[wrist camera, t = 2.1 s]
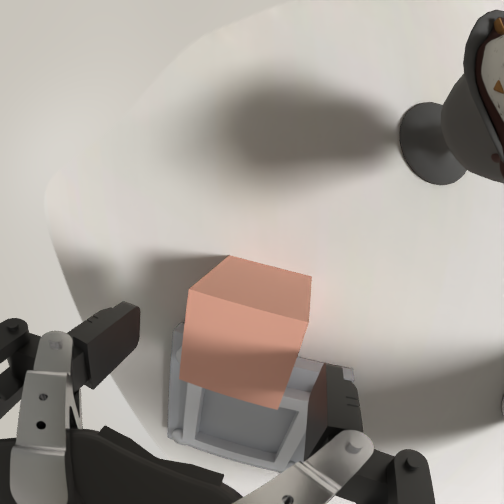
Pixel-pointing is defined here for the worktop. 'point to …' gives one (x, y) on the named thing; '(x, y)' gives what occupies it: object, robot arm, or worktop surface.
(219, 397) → the plate
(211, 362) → the block
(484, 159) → the sundae
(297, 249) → the worktop surface
